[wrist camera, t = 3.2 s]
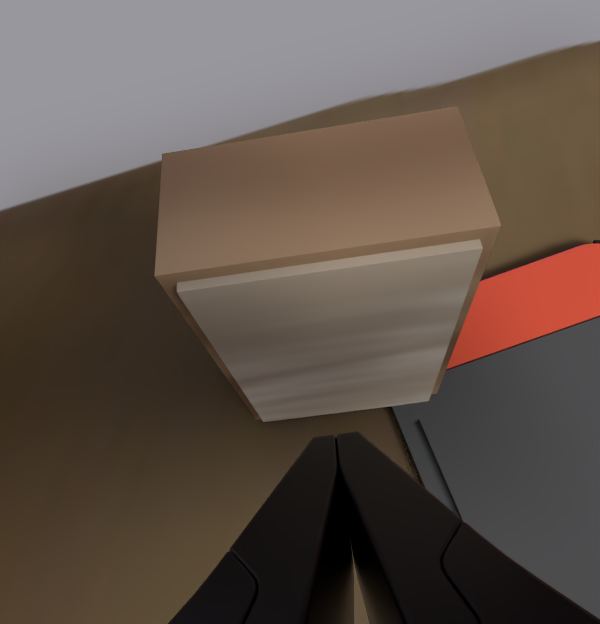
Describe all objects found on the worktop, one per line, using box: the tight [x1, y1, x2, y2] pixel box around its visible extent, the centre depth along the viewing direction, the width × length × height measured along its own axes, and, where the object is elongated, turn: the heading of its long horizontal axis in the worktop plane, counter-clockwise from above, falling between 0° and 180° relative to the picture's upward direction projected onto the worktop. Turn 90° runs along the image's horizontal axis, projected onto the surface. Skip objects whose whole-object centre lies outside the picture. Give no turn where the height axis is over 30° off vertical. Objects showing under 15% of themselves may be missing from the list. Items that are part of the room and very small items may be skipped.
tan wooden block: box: [154, 107, 501, 422], centre depth 13 cm, size 3×6×9 cm, turn 95°
